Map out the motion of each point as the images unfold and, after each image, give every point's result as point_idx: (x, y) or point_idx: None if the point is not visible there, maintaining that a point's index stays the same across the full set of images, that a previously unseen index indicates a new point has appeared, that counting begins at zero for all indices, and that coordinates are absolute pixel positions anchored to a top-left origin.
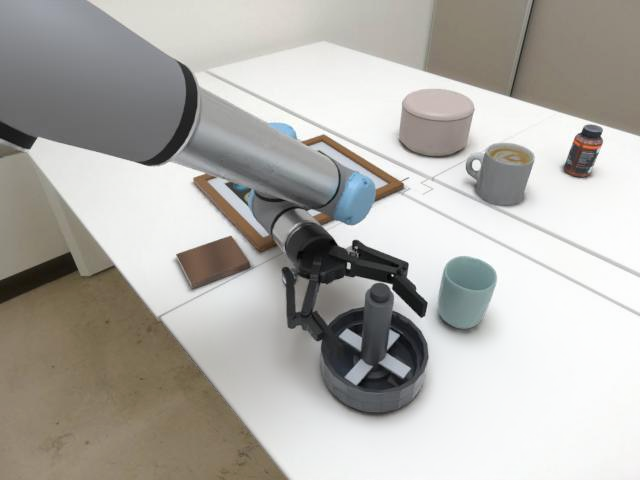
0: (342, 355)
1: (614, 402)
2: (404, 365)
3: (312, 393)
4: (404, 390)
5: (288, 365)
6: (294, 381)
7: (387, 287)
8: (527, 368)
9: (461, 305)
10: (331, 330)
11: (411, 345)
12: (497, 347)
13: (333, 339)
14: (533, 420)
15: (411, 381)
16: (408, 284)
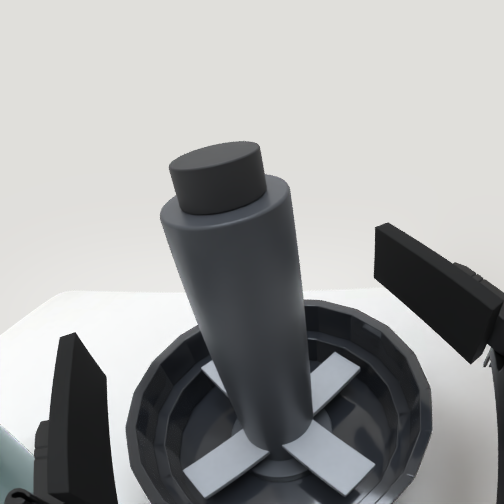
0: (374, 269)
1: (10, 337)
2: (212, 375)
3: None
4: None
5: (479, 441)
6: (460, 408)
7: (177, 162)
8: (32, 390)
9: (6, 435)
10: (417, 253)
11: (168, 444)
12: (33, 431)
13: (404, 235)
14: (84, 334)
15: None
16: (50, 423)
